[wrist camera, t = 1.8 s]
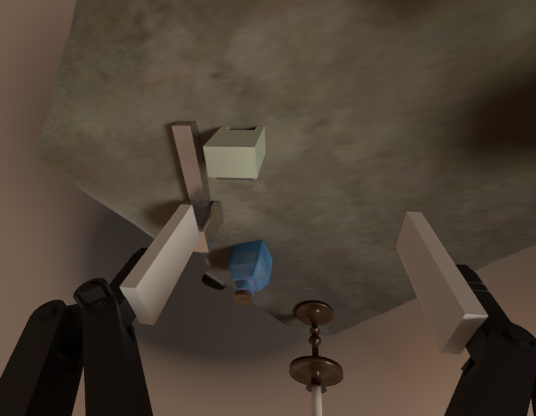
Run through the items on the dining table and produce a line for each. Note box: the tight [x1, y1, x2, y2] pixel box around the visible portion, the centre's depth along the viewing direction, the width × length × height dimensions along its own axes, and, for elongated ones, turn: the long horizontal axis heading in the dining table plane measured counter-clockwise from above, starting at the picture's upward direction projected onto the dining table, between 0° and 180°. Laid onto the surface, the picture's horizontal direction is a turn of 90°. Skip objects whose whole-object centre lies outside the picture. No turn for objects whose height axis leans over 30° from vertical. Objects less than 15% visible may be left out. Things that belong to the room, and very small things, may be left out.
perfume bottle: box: [228, 240, 273, 306], centre depth 50 cm, size 6×6×12 cm
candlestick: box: [289, 300, 343, 416], centre depth 50 cm, size 11×11×35 cm
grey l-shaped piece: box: [172, 121, 223, 252], centre depth 43 cm, size 22×7×10 cm, turn 2°
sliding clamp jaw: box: [203, 126, 266, 180], centre depth 38 cm, size 5×7×9 cm
